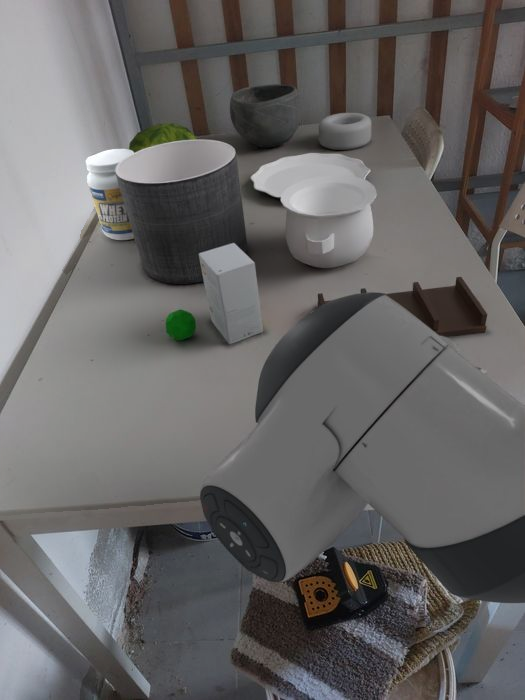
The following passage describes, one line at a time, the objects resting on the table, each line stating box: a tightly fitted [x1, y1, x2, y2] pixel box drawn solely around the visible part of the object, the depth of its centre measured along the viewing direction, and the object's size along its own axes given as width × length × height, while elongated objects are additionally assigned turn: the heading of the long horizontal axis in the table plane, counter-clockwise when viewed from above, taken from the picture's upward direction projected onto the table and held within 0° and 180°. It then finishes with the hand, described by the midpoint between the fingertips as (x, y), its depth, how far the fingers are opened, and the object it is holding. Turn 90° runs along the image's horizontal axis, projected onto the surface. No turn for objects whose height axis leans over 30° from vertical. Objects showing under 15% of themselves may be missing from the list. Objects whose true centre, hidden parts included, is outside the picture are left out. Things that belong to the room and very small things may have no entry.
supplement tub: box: [85, 148, 135, 241], centre depth 115 cm, size 12×12×17 cm
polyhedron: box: [165, 308, 197, 341], centre depth 84 cm, size 5×5×5 cm
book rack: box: [317, 276, 488, 338], centre depth 83 cm, size 24×12×3 cm, turn 94°
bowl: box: [229, 83, 303, 149], centre depth 153 cm, size 21×21×15 cm
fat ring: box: [318, 112, 372, 151], centre depth 150 cm, size 15×15×7 cm
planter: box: [115, 139, 249, 285], centre depth 100 cm, size 22×22×20 cm
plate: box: [249, 152, 371, 200], centre depth 131 cm, size 29×29×2 cm
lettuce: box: [128, 122, 199, 153], centre depth 131 cm, size 18×23×19 cm
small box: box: [199, 243, 264, 345], centre depth 82 cm, size 8×6×13 cm
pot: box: [280, 175, 378, 269], centre depth 99 cm, size 22×17×12 cm
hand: (430, 355), depth 51 cm, fingers open, 8 cm apart
